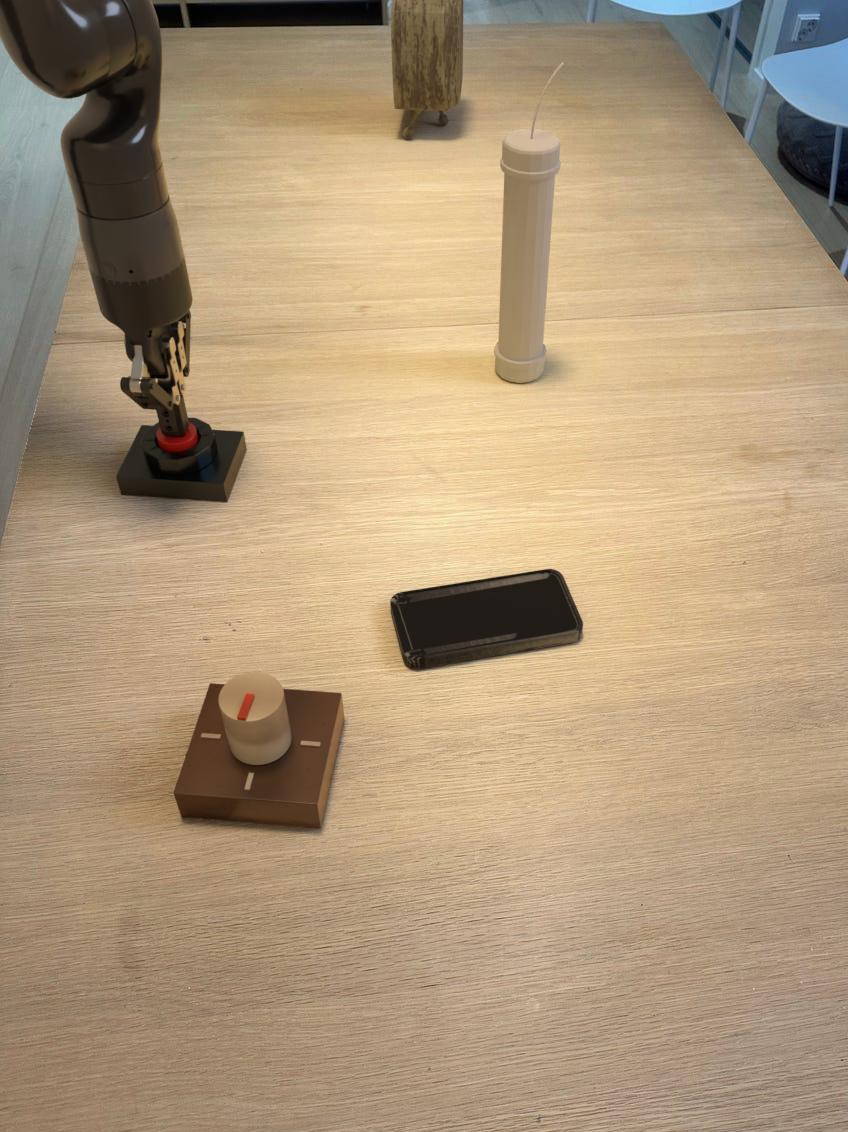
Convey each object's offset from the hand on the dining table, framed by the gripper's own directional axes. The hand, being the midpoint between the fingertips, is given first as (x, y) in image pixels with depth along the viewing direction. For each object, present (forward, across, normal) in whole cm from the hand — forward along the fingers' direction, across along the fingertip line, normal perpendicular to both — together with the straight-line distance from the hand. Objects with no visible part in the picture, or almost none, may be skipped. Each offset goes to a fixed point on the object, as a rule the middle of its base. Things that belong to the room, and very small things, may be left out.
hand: (176, 432), depth 97 cm
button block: (+5, 0, 0) cm, 5 cm away
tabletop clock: (+5, +84, -13) cm, 85 cm away
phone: (+5, -17, -30) cm, 35 cm away
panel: (+4, -33, -15) cm, 37 cm away
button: (+2, 0, 0) cm, 2 cm away
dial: (+1, -33, -15) cm, 36 cm away
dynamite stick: (+5, +21, -31) cm, 38 cm away
